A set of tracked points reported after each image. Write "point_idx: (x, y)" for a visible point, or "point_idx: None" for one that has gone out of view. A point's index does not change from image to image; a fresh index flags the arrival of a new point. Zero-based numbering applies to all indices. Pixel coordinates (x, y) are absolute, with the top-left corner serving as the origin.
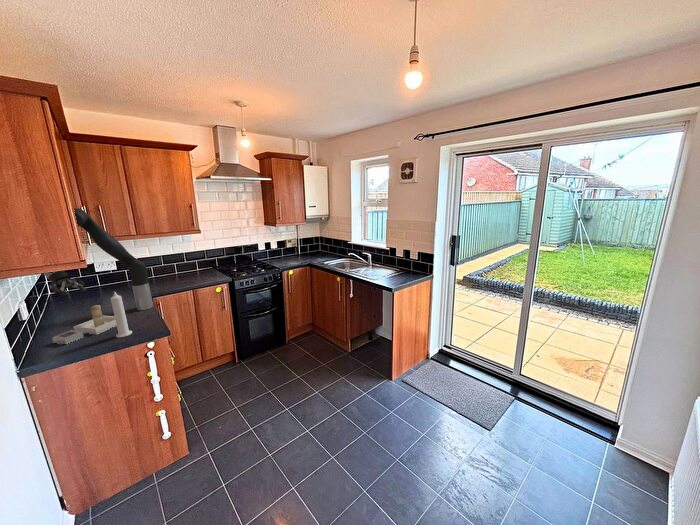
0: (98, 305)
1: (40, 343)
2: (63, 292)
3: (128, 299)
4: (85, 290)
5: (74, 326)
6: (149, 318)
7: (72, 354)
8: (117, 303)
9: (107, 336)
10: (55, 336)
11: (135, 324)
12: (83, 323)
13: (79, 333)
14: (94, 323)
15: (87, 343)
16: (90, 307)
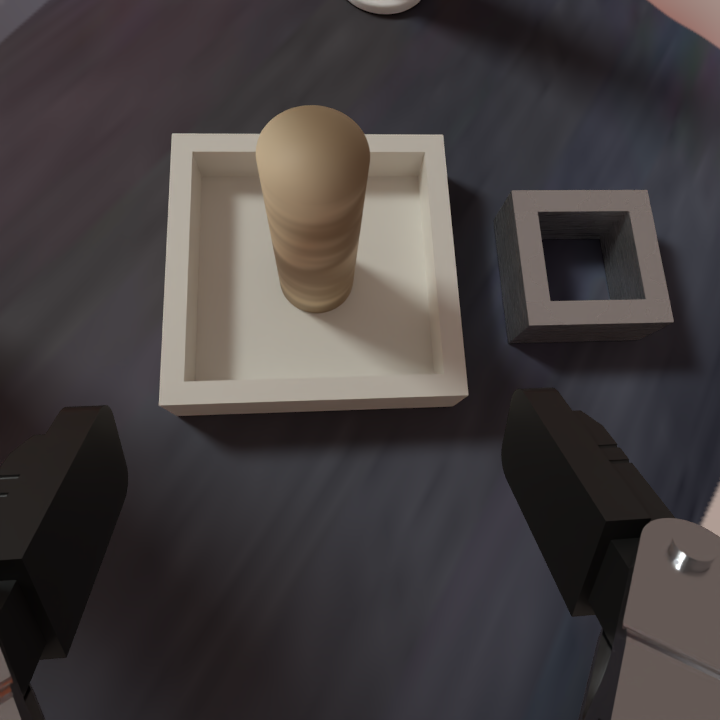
0: (267, 151)
1: (677, 466)
2: (637, 504)
3: None
4: (84, 406)
5: (459, 391)
6: (83, 35)
7: (671, 41)
8: None
9: (434, 62)
10: (651, 316)
11: (214, 45)
12: (382, 379)
13: (533, 194)
14: (355, 265)
15: (550, 94)
16: (356, 181)
